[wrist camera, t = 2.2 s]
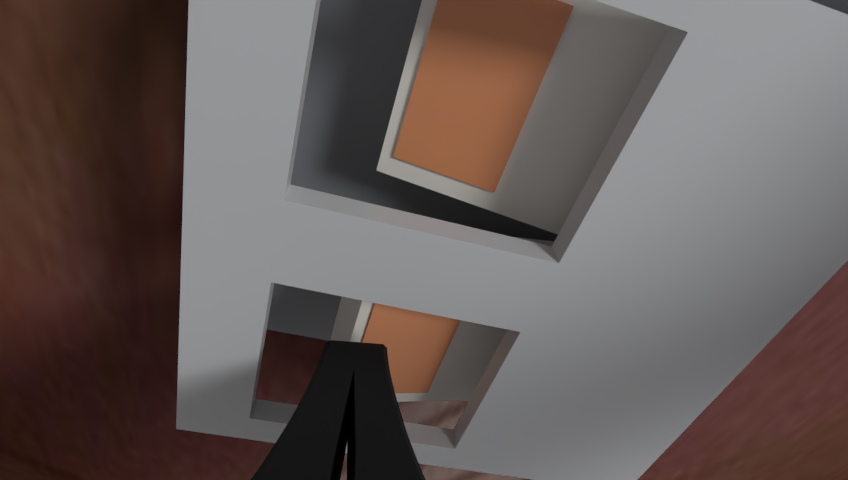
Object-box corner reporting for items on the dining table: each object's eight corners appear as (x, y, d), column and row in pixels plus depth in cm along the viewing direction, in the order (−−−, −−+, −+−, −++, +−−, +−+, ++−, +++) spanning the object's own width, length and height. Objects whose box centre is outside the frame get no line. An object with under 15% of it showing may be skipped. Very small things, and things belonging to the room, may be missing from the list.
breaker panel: (831, 2, 14) (1119, 76, 8) (594, 346, 21) (660, 506, 16) (279, -206, 11) (148, -309, 5) (231, 274, 19) (155, 437, 13)
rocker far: (588, 245, 15) (621, 287, 14) (523, 356, 18) (545, 400, 16) (362, 220, 13) (373, 268, 11) (326, 352, 15) (331, 405, 14)
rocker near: (771, 39, 10) (815, 58, 9) (645, 232, 13) (662, 273, 12) (454, -74, 10) (441, -76, 9) (393, 143, 13) (375, 171, 11)
